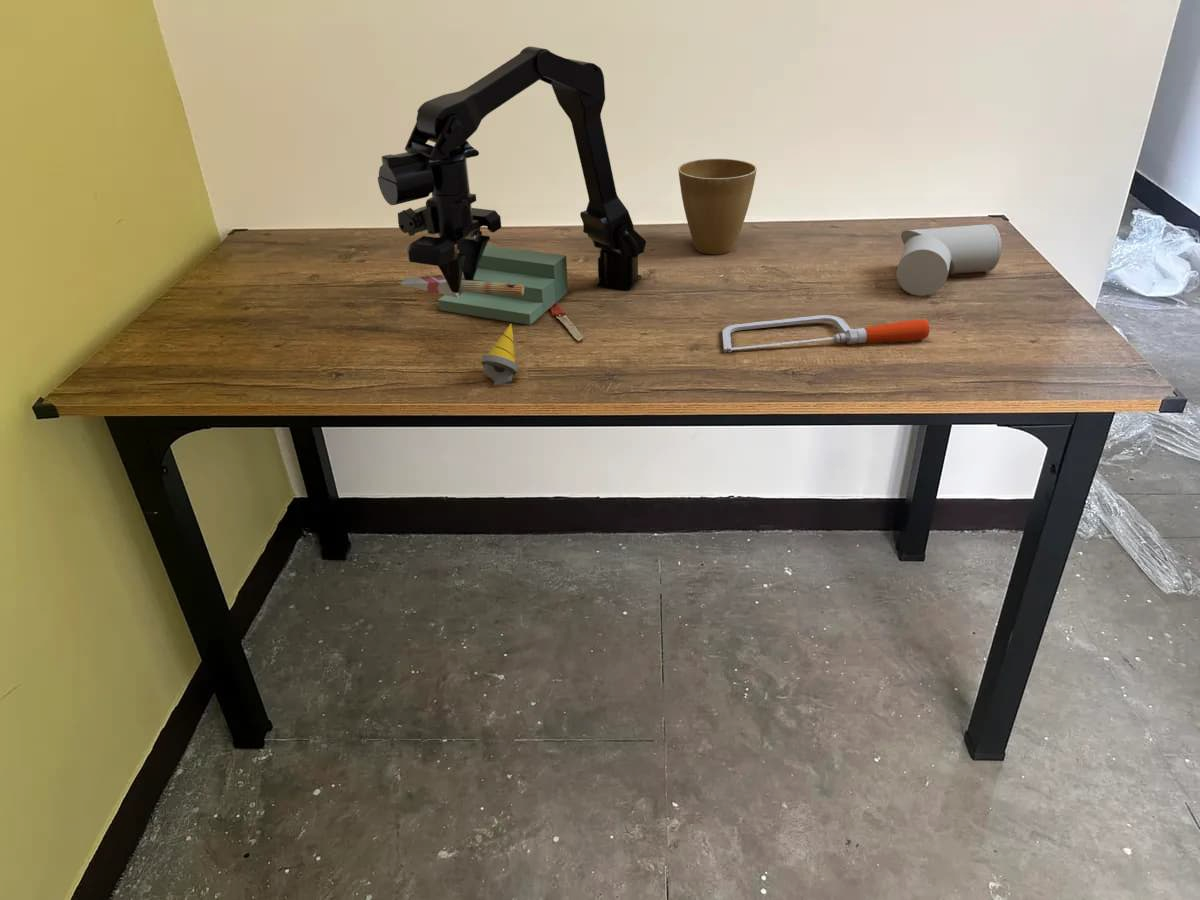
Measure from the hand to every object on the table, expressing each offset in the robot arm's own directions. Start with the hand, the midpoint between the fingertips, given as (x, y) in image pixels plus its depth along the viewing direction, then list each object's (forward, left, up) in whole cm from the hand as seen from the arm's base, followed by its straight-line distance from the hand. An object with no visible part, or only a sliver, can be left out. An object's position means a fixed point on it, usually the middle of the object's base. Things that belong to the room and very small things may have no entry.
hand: (462, 287), depth 143 cm
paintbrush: (0, 0, -1) cm, 1 cm away
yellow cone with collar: (-12, +11, -9) cm, 18 cm away
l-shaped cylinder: (-70, -51, -9) cm, 87 cm away
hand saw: (-54, -19, -9) cm, 58 cm away
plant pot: (-26, -52, -9) cm, 59 cm away
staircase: (+1, -14, -8) cm, 17 cm away
